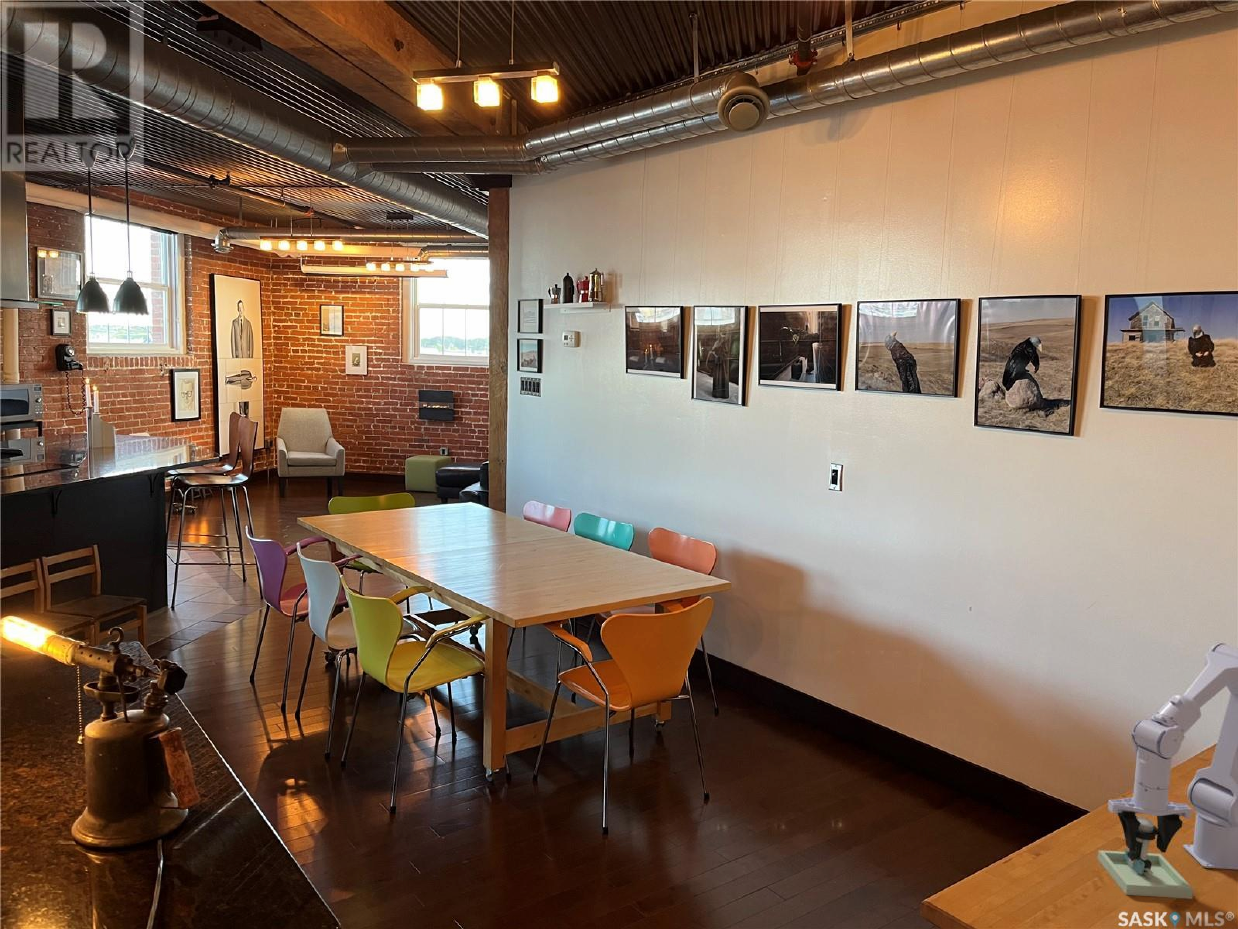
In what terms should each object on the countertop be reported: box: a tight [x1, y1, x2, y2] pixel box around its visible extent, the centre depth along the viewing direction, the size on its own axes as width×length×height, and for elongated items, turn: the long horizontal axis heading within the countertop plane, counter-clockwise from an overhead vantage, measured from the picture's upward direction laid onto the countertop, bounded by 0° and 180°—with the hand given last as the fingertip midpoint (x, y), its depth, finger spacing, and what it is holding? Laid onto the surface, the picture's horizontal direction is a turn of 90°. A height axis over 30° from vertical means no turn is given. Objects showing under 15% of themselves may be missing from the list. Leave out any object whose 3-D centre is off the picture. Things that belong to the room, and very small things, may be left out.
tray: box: [1097, 849, 1194, 900], centre depth 174 cm, size 12×12×2 cm
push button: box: [1124, 816, 1158, 878], centre depth 175 cm, size 7×5×10 cm
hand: (1145, 849), depth 173 cm, fingers closed on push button, 5 cm apart
